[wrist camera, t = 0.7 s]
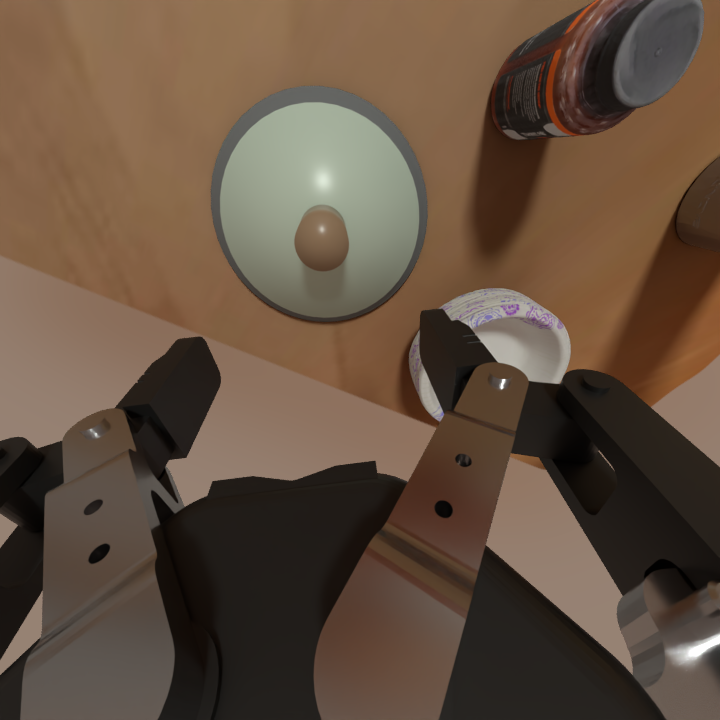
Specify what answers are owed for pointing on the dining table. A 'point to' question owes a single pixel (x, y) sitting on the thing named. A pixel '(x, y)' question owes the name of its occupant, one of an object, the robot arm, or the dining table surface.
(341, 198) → the lid
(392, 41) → the dining table surface
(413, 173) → the mat
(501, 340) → the paper bowls
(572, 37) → the supplement bottle
